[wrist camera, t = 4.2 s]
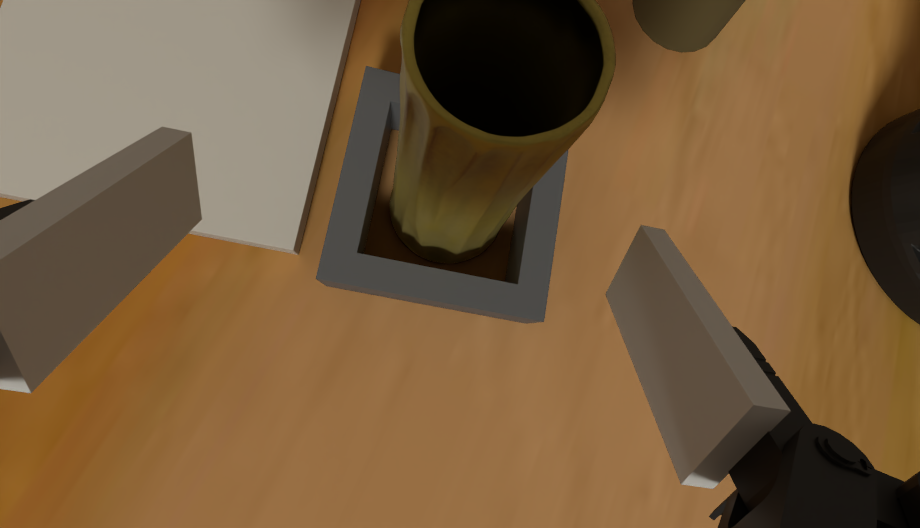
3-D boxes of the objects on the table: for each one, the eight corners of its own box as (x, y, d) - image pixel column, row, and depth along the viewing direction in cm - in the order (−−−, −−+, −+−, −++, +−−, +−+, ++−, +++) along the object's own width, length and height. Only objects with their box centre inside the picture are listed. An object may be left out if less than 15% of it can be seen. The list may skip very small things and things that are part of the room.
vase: (523, 225, 25) (681, 85, 11) (431, 286, 24) (480, 217, 10) (460, 135, 25) (538, -109, 11) (367, 192, 24) (326, -5, 10)
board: (364, -16, 26) (363, -32, 25) (298, 254, 23) (293, 250, 22) (66, -93, 24) (49, -114, 23) (-45, 188, 22) (-70, 179, 20)
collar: (553, 140, 26) (573, 115, 23) (526, 323, 24) (543, 321, 21) (369, 97, 25) (366, 65, 22) (326, 286, 23) (315, 278, 20)
